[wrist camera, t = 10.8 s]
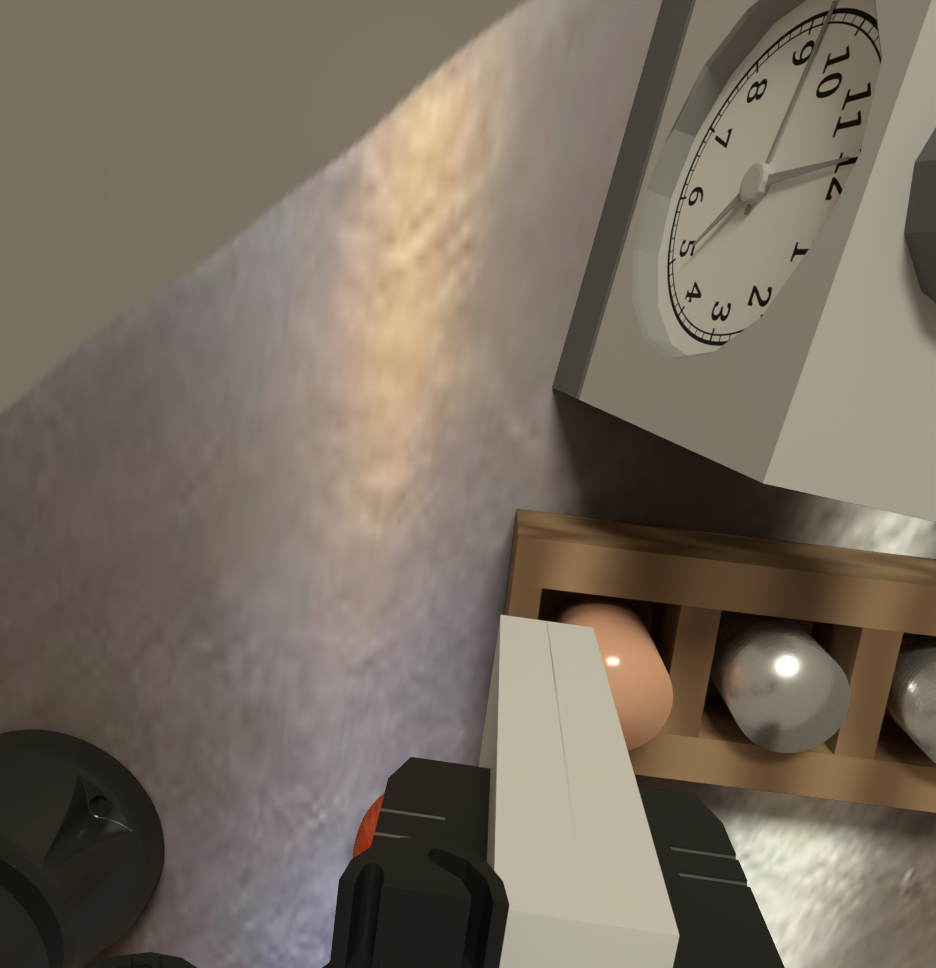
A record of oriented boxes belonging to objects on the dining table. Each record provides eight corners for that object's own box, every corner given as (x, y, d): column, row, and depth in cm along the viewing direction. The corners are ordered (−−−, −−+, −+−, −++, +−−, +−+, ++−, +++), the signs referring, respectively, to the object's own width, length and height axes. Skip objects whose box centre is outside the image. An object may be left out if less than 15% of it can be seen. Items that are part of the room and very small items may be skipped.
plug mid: (690, 682, 46) (723, 745, 39) (707, 590, 45) (743, 638, 38) (788, 694, 46) (837, 759, 39) (807, 603, 45) (861, 653, 38)
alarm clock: (665, -11, 40) (821, -341, 20) (968, 72, 40) (1424, -175, 20) (551, 387, 44) (588, 439, 24) (826, 461, 44) (1088, 574, 24)
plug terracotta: (537, 679, 44) (542, 744, 37) (550, 583, 43) (559, 632, 36) (638, 692, 44) (662, 759, 37) (654, 596, 43) (682, 648, 36)
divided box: (492, 702, 48) (490, 756, 42) (516, 508, 45) (518, 536, 40) (963, 761, 47) (1028, 824, 41) (1013, 568, 45) (1090, 605, 39)
